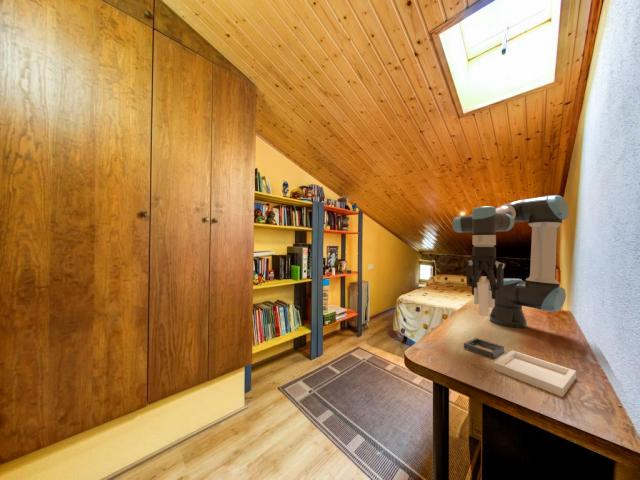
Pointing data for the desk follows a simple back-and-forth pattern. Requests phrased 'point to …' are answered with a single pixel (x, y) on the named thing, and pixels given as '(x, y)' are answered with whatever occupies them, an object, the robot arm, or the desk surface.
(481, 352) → the ring collar
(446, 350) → the desk surface
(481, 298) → the perfume bottle
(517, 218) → the robot arm
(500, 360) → the tray
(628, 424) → the desk surface
